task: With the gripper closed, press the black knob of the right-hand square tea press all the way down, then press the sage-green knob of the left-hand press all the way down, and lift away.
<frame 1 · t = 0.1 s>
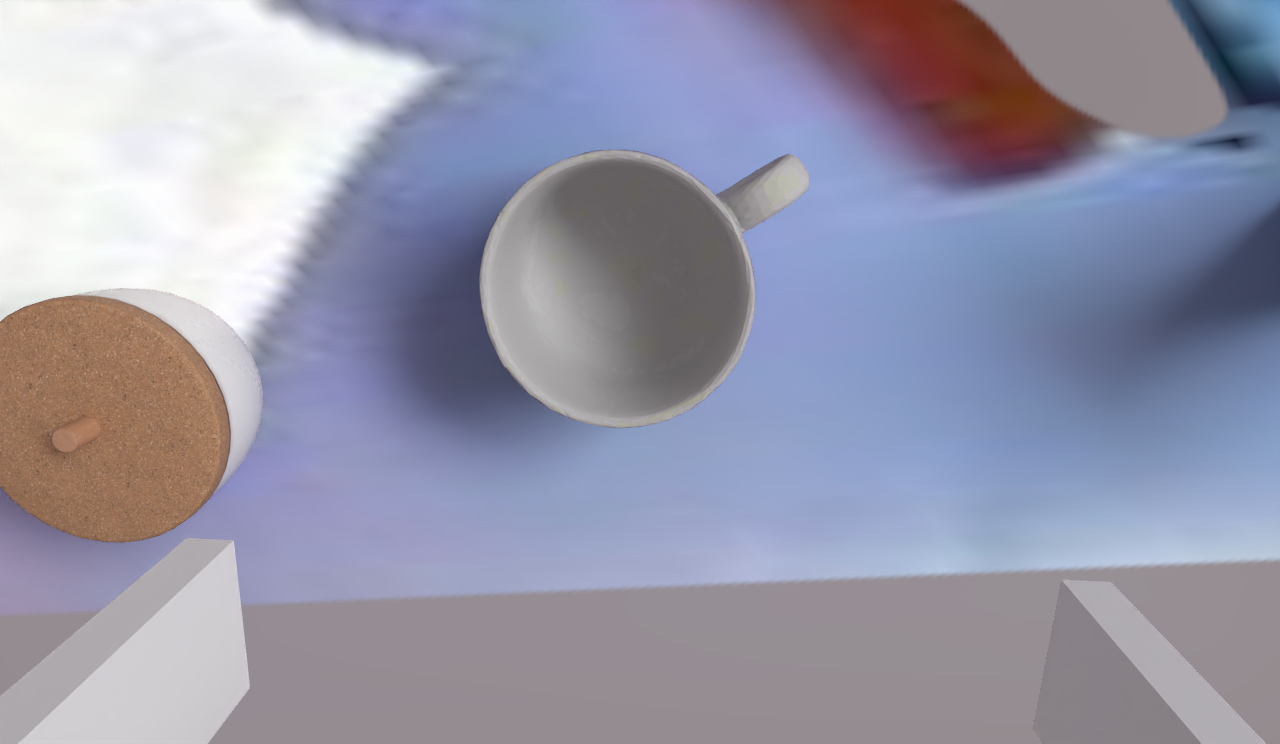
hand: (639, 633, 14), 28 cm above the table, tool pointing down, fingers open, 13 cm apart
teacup: (657, 250, 40), on the table
lidded jar: (194, 373, 43), on the table
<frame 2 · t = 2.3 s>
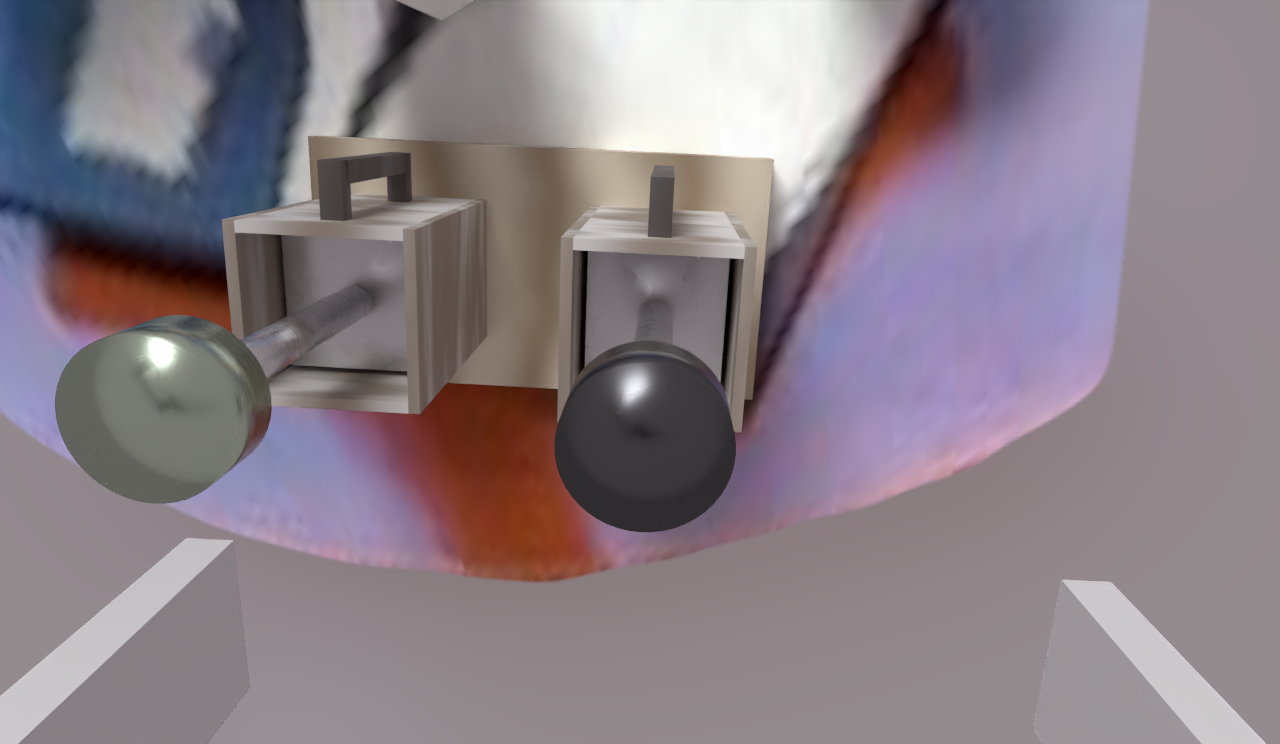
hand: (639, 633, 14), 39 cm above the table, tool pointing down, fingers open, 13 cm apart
plunger 2: (651, 364, 32), point 20 cm above the table, slide at 0.0 cm
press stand: (542, 267, 51), on the table
plunger 1: (279, 344, 32), point 20 cm above the table, slide at 0.0 cm
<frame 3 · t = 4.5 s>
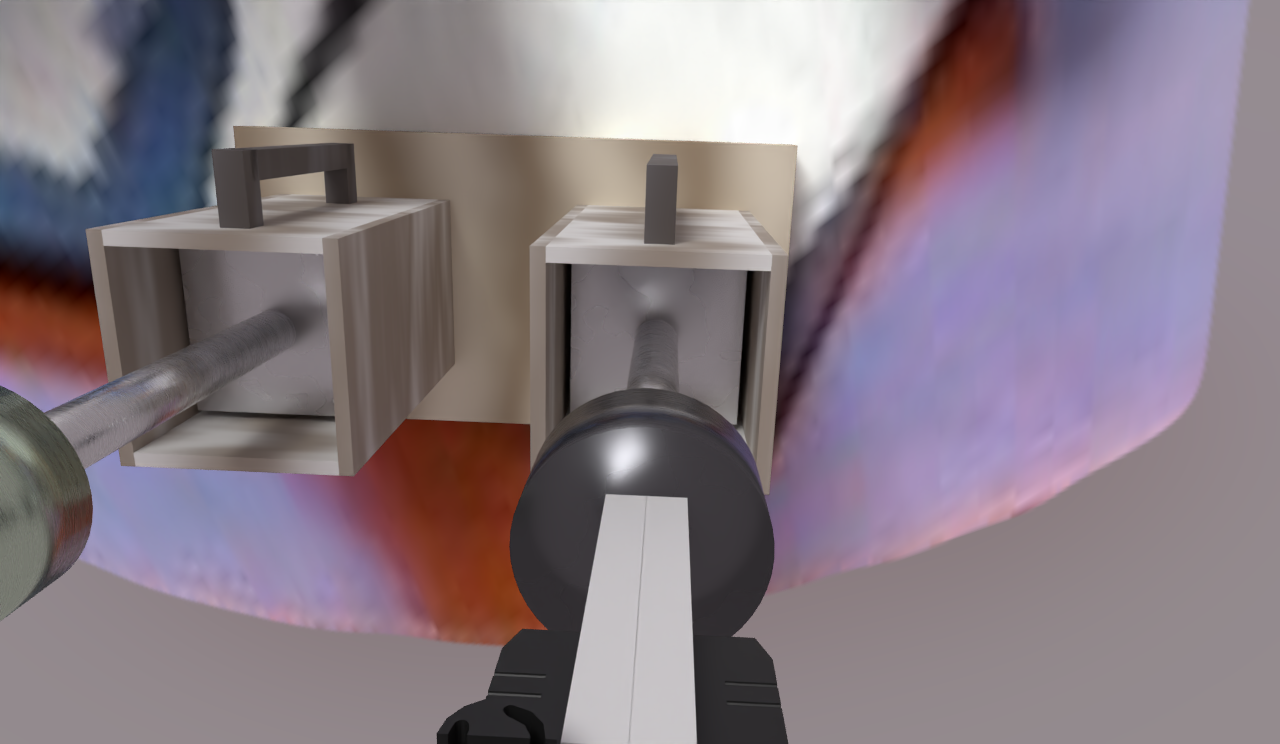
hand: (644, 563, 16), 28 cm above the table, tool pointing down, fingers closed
plunger 2: (651, 406, 24), point 19 cm above the table, slide at 1.0 cm, touching gripper
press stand: (521, 279, 43), on the table
plunger 1: (148, 397, 24), point 20 cm above the table, slide at 0.0 cm
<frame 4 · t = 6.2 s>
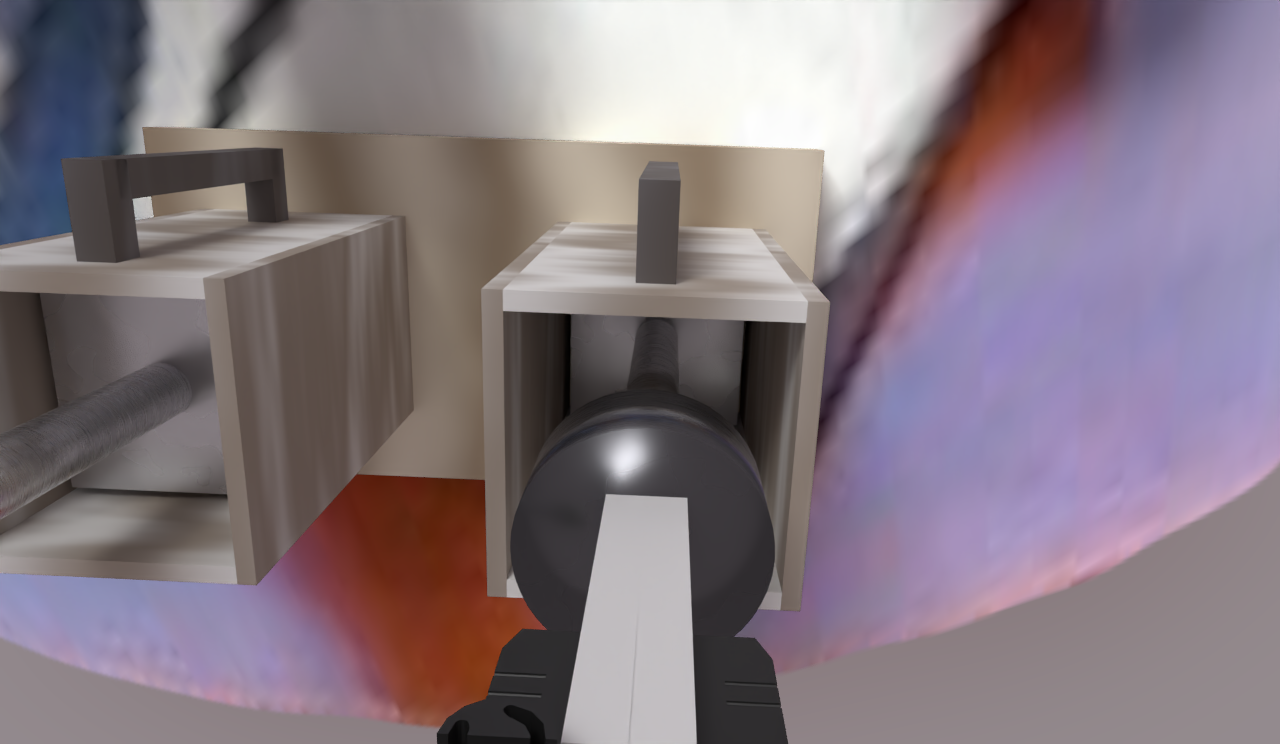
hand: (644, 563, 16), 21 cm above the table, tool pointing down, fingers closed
plunger 2: (652, 407, 24), point 12 cm above the table, slide at 8.0 cm, touching gripper
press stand: (493, 308, 36), on the table
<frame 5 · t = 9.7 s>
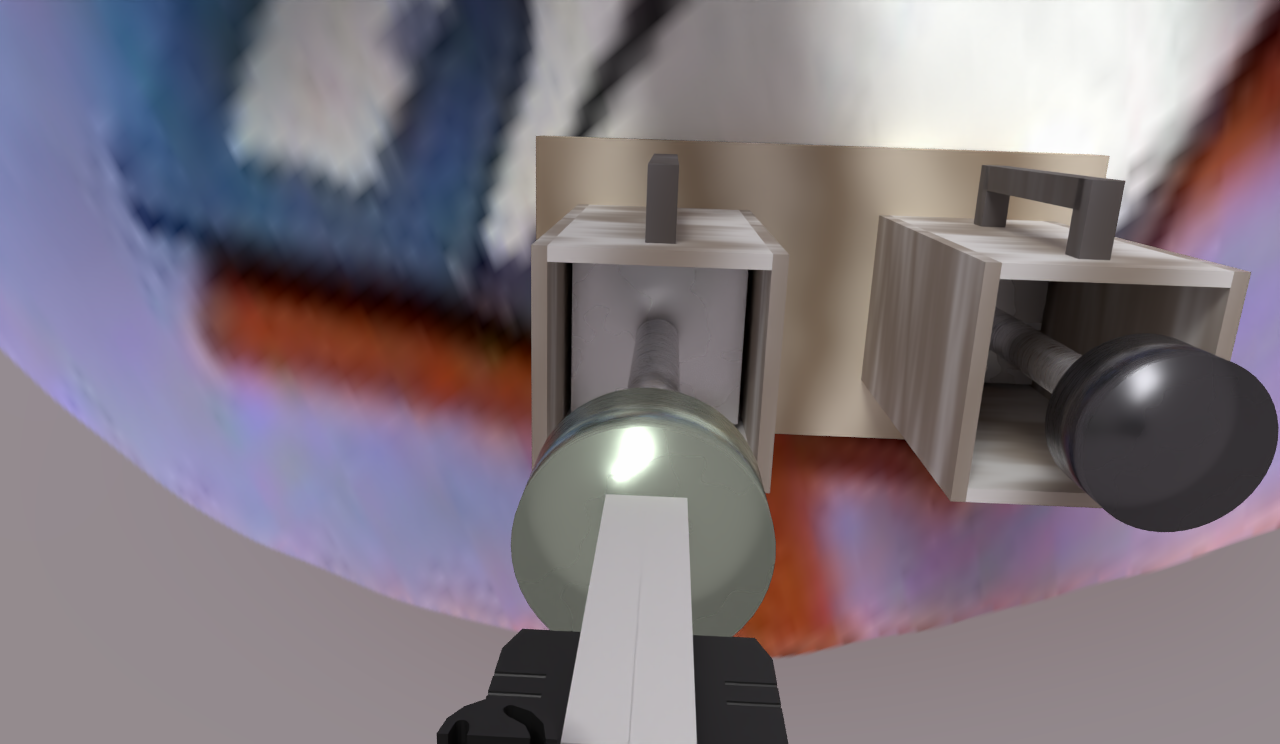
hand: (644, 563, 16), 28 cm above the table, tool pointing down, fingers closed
plunger 2: (1043, 359, 31), point 12 cm above the table, slide at 8.0 cm
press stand: (800, 289, 43), on the table
plunger 1: (652, 406, 24), point 19 cm above the table, slide at 0.9 cm, touching gripper
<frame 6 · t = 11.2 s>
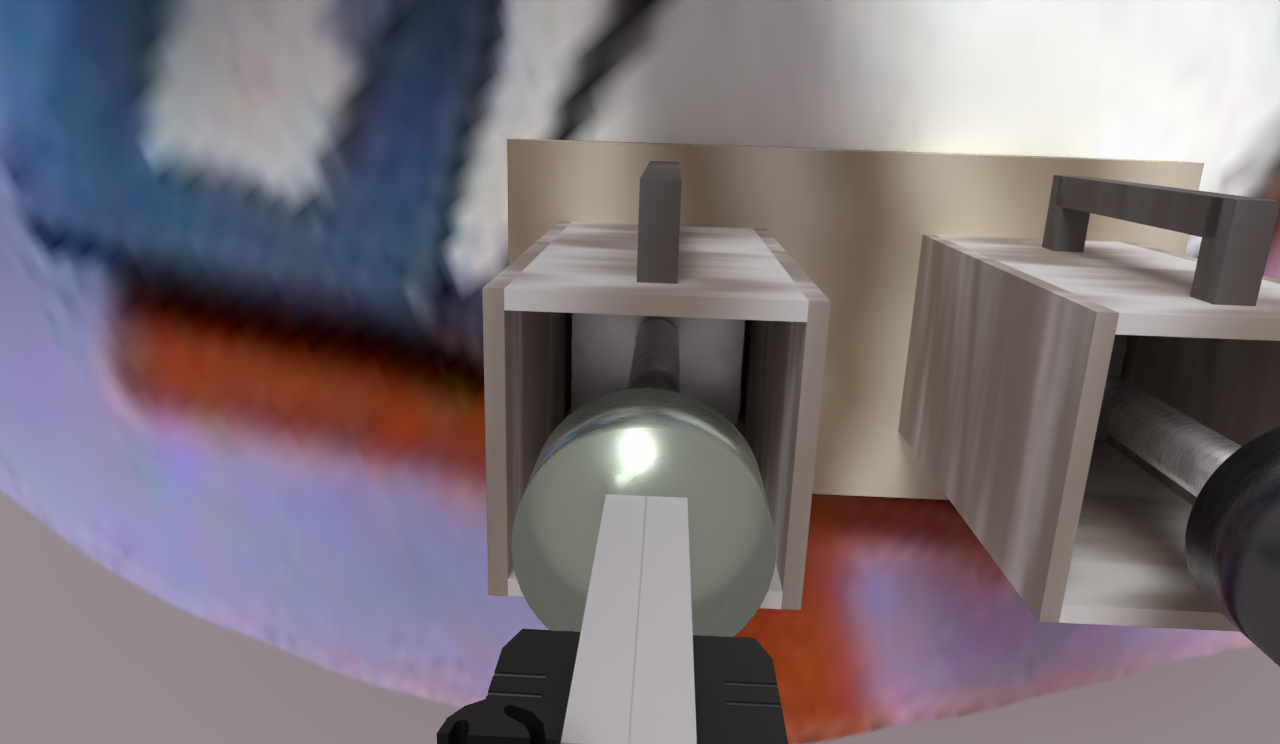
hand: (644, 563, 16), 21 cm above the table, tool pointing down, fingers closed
plunger 2: (1149, 427, 24), point 12 cm above the table, slide at 8.0 cm
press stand: (825, 321, 36), on the table
plunger 1: (652, 406, 24), point 12 cm above the table, slide at 8.0 cm, touching gripper
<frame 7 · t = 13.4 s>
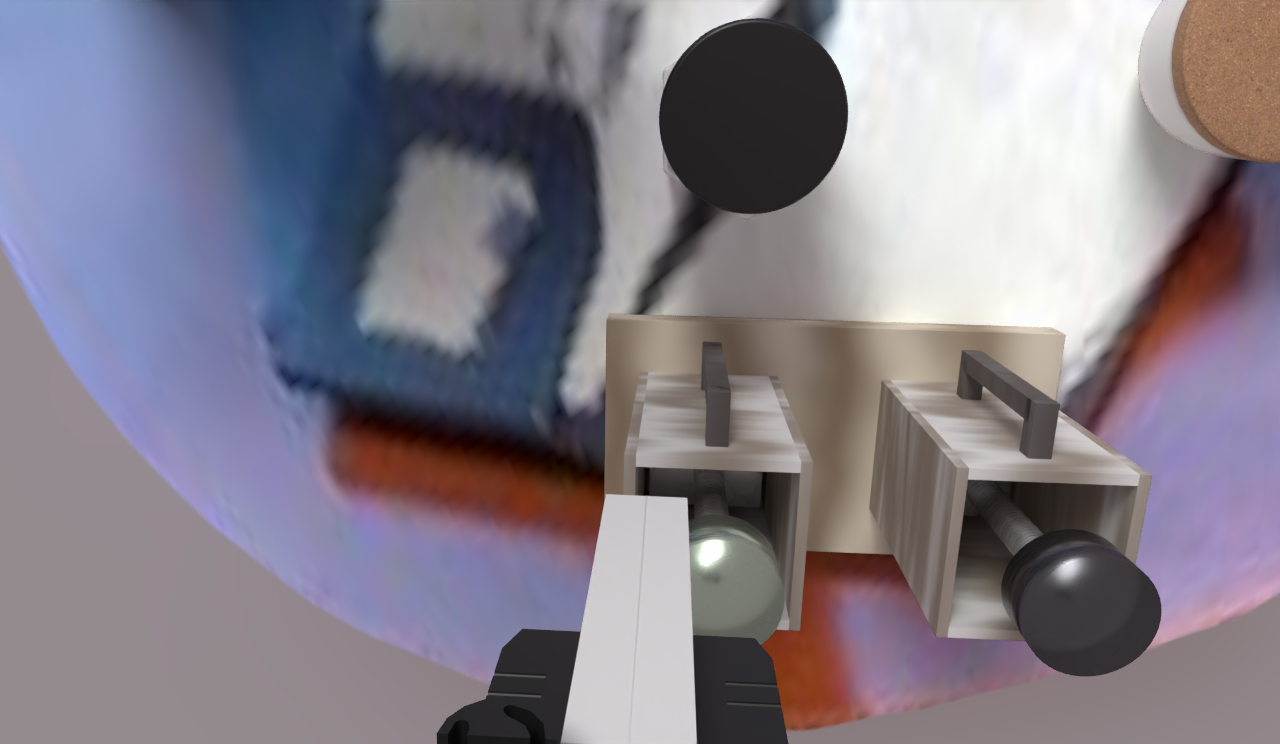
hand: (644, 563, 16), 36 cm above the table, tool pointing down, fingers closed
plunger 2: (1007, 521, 40), point 12 cm above the table, slide at 8.0 cm
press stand: (818, 432, 52), on the table
plunger 1: (711, 508, 41), point 12 cm above the table, slide at 8.0 cm
lidded jar: (1202, 59, 46), on the table
jar: (735, 125, 48), on the table
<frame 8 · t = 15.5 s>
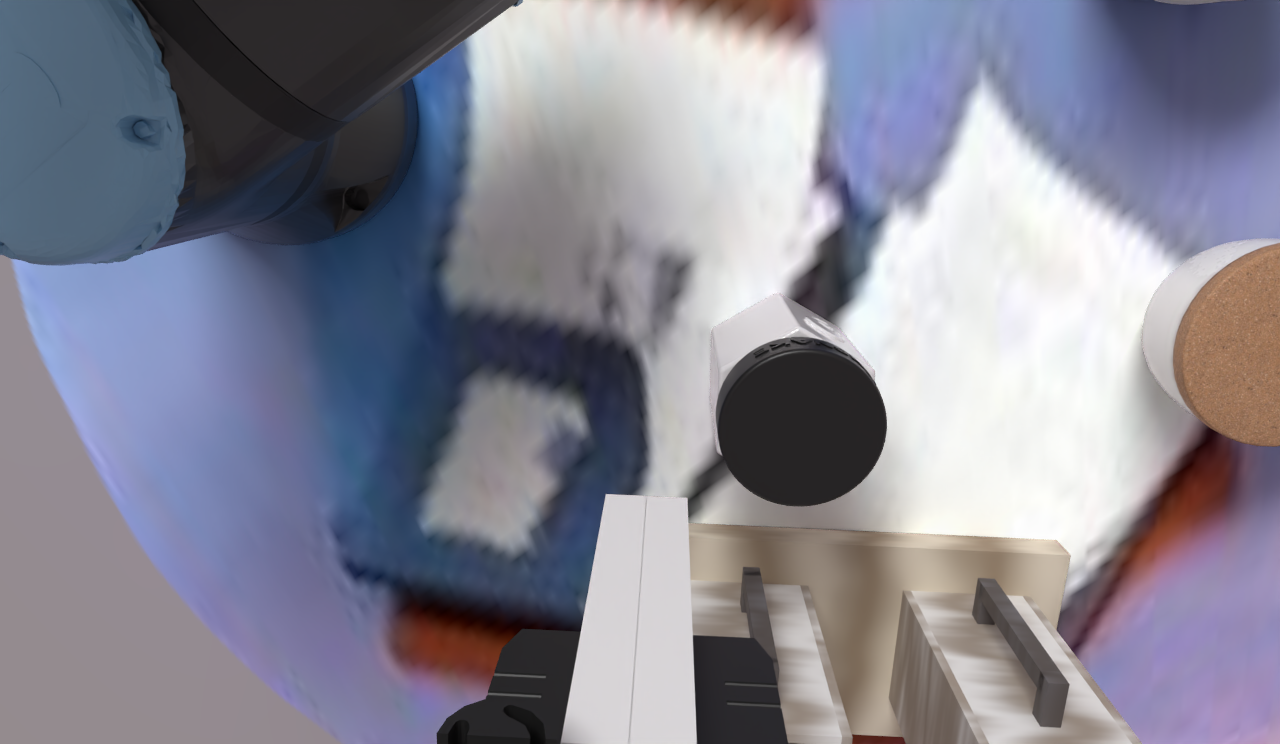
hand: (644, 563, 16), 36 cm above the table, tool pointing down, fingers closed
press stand: (843, 625, 57), on the table
lidded jar: (1199, 315, 51), on the table
jar: (773, 362, 52), on the table
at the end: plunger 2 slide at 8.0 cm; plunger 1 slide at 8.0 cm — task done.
